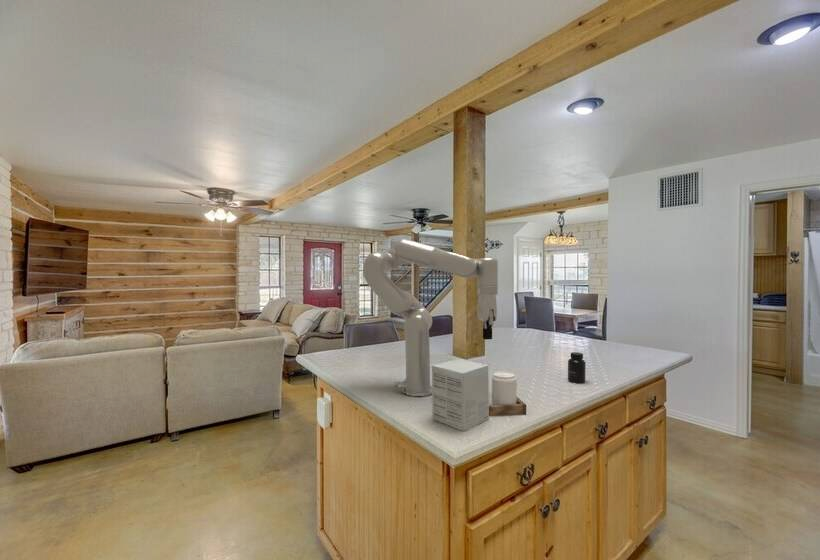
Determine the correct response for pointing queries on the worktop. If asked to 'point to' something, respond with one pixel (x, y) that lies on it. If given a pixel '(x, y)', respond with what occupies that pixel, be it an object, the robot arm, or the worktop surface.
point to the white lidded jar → (504, 388)
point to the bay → (508, 409)
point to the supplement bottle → (576, 368)
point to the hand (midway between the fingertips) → (487, 338)
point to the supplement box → (460, 393)
